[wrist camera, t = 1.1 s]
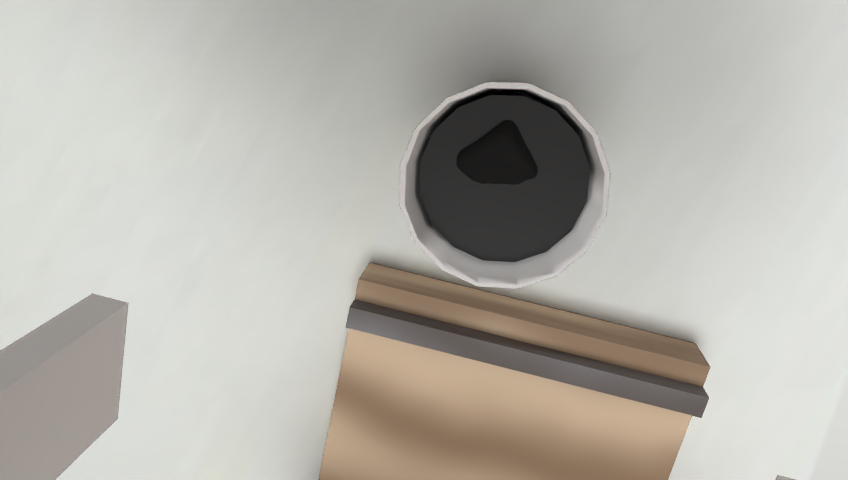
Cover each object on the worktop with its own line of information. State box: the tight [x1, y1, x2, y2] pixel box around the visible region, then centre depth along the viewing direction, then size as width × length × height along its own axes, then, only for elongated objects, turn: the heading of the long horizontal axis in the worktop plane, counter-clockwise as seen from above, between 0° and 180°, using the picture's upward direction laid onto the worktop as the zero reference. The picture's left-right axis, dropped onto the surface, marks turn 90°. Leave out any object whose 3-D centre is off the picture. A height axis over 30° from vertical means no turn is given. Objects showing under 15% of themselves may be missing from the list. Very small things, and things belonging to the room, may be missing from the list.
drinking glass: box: [399, 82, 610, 289], centre depth 26 cm, size 7×7×10 cm
